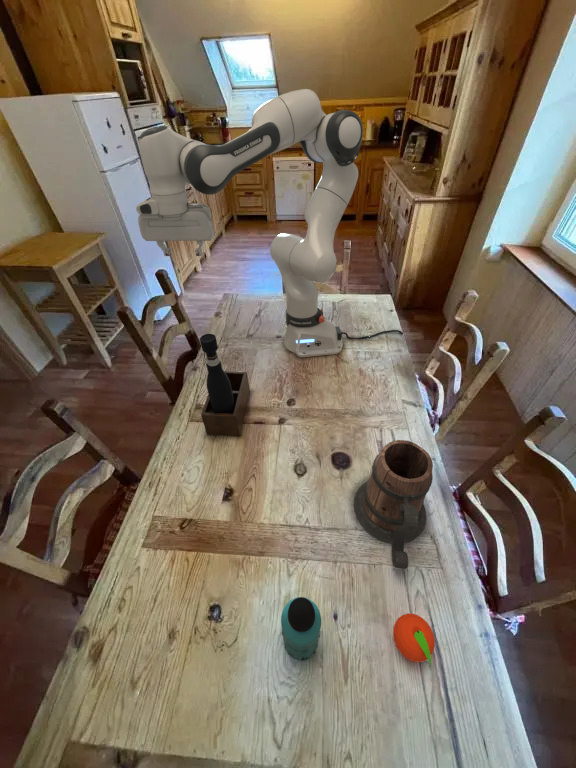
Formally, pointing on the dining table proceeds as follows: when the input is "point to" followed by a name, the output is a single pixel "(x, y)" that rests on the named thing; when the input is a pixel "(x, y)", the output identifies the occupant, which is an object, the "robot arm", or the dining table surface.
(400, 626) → the clementine
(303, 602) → the beverage bottle
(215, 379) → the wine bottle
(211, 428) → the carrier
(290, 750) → the dining table surface
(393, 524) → the tankard
